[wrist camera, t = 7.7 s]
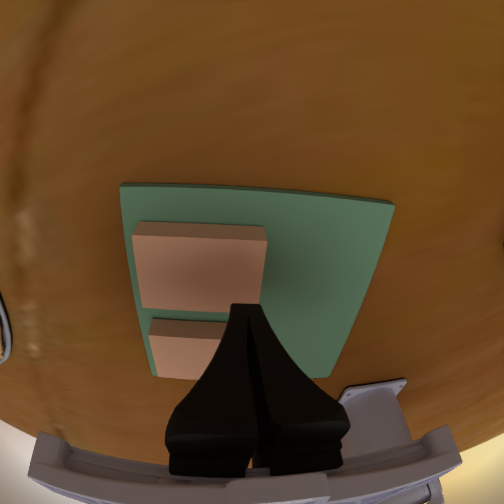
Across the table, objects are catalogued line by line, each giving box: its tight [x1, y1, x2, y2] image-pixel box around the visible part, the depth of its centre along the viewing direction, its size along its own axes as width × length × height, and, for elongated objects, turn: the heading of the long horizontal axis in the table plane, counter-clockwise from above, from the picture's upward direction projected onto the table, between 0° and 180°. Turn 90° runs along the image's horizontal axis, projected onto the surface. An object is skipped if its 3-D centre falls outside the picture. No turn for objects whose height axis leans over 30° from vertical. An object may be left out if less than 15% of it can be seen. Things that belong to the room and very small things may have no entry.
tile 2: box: [148, 319, 227, 380], centre depth 21 cm, size 5×2×7 cm
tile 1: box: [132, 221, 267, 313], centre depth 17 cm, size 5×2×7 cm
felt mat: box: [119, 183, 396, 378], centre depth 20 cm, size 17×16×1 cm
